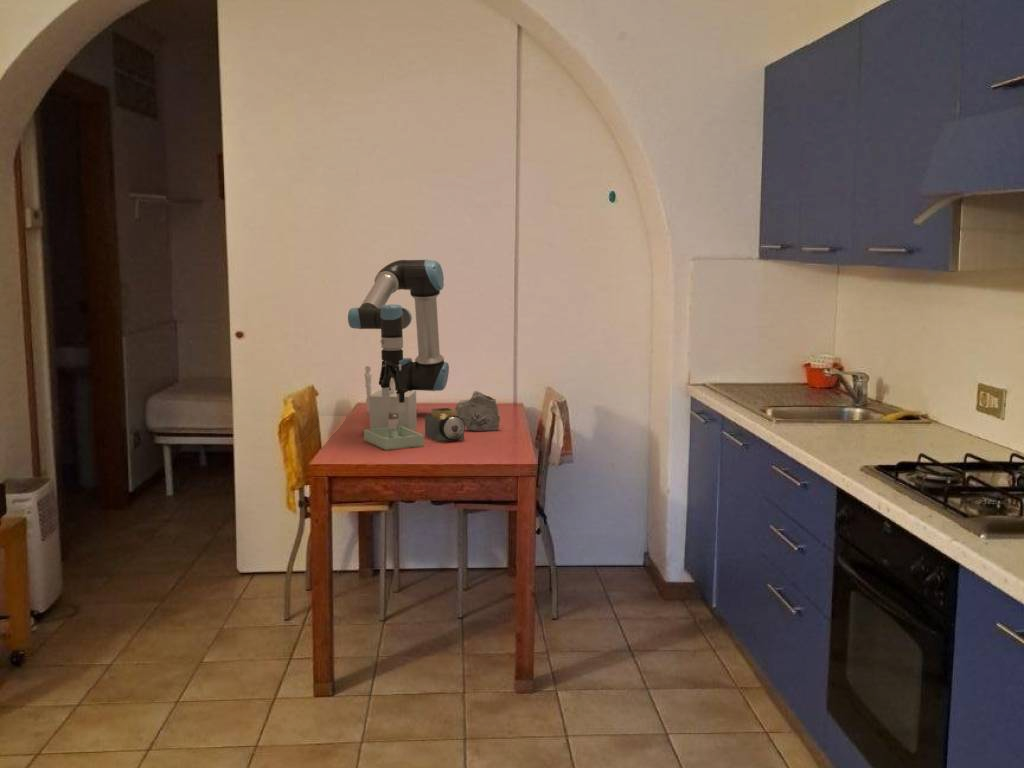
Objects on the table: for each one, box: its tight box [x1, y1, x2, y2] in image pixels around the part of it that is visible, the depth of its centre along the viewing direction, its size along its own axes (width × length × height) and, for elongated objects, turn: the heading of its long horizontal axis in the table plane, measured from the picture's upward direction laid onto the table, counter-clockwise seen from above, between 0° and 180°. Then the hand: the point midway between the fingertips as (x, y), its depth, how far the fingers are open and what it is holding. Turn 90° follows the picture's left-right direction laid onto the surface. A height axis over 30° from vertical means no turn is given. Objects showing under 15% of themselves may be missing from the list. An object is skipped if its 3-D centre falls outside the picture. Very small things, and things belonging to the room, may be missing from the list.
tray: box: [363, 426, 425, 451], centre depth 359 cm, size 20×15×4 cm
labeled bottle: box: [388, 413, 399, 438], centre depth 358 cm, size 4×4×10 cm
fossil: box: [454, 390, 501, 432], centre depth 382 cm, size 17×7×15 cm, turn 93°
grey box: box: [363, 365, 418, 431], centre depth 379 cm, size 15×18×25 cm
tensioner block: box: [424, 407, 466, 443], centre depth 367 cm, size 15×10×10 cm, turn 29°
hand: (393, 408), depth 358 cm, fingers open, 13 cm apart
